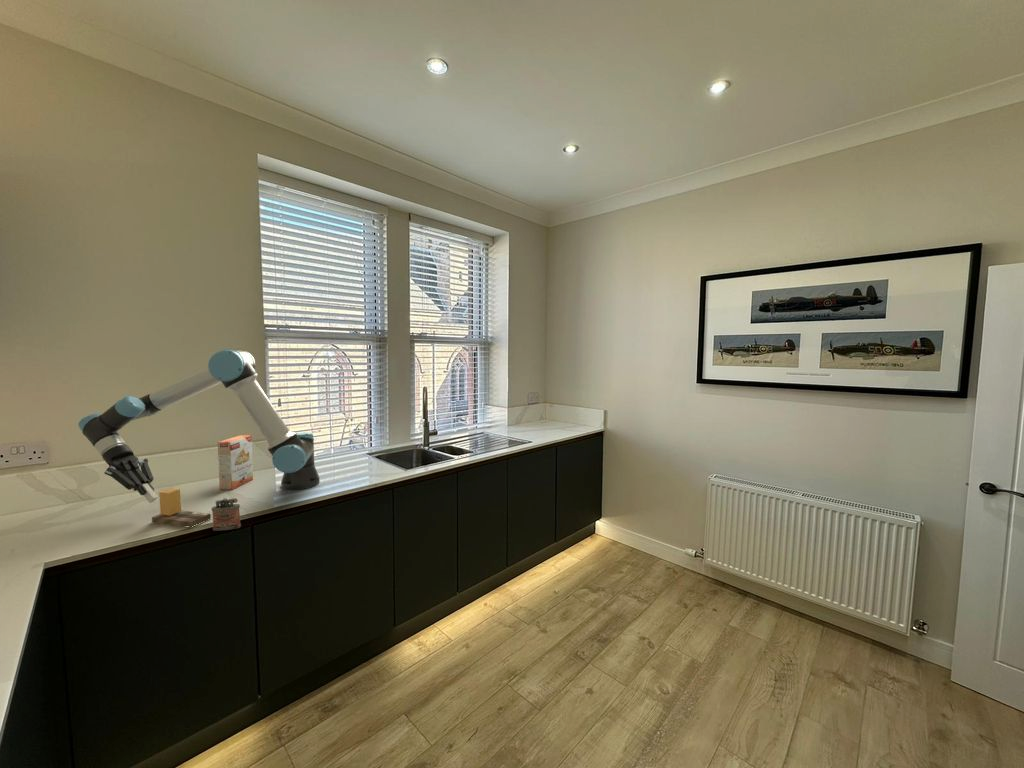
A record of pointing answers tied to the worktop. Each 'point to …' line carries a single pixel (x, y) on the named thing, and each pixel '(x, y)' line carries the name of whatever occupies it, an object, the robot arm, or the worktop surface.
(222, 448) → the cracker box
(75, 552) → the worktop surface
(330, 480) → the worktop surface
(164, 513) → the orange rectangular block
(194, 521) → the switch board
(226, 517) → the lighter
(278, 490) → the worktop surface
